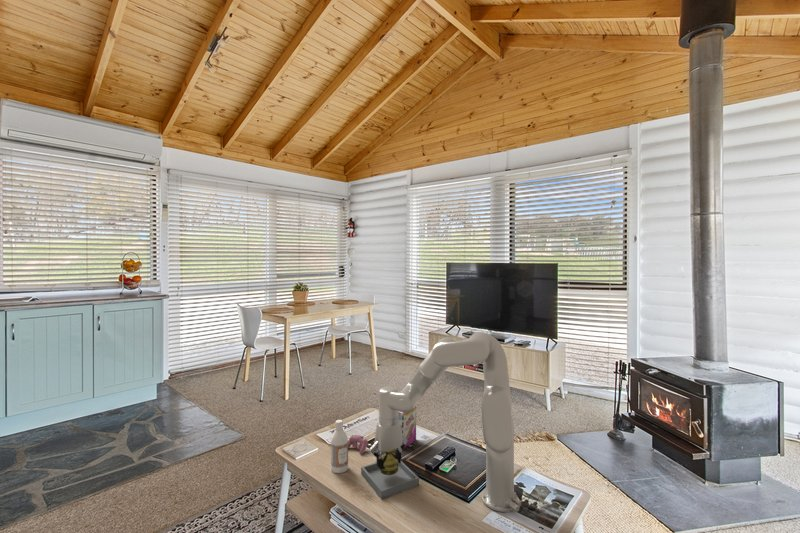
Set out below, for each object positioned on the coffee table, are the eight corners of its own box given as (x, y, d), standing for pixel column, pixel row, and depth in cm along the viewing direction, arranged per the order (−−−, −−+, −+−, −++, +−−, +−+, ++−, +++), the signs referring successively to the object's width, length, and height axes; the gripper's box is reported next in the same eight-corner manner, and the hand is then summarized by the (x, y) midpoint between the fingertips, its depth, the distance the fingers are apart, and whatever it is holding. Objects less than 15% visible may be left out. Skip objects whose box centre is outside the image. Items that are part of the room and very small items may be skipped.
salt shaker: (376, 473, 144) (375, 447, 144) (384, 463, 151) (384, 438, 150) (393, 477, 141) (393, 451, 140) (401, 467, 148) (401, 442, 147)
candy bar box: (403, 450, 168) (403, 414, 167) (394, 446, 171) (394, 411, 170) (417, 440, 177) (416, 405, 177) (408, 437, 180) (408, 403, 179)
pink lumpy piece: (366, 455, 167) (370, 438, 170) (361, 454, 163) (365, 437, 166) (349, 449, 172) (353, 433, 175) (343, 449, 169) (347, 432, 171)
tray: (419, 485, 142) (419, 477, 142) (381, 499, 134) (381, 491, 134) (396, 462, 158) (395, 455, 157) (361, 474, 150) (361, 467, 150)
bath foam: (335, 476, 149) (334, 426, 148) (328, 467, 155) (327, 420, 154) (351, 470, 153) (350, 421, 152) (343, 462, 158) (343, 415, 158)
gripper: (403, 411, 153) (403, 454, 153) (364, 421, 144) (364, 466, 145) (412, 418, 146) (413, 462, 147) (372, 429, 137) (373, 476, 138)
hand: (389, 464), depth 146 cm, fingers closed on salt shaker, 7 cm apart
